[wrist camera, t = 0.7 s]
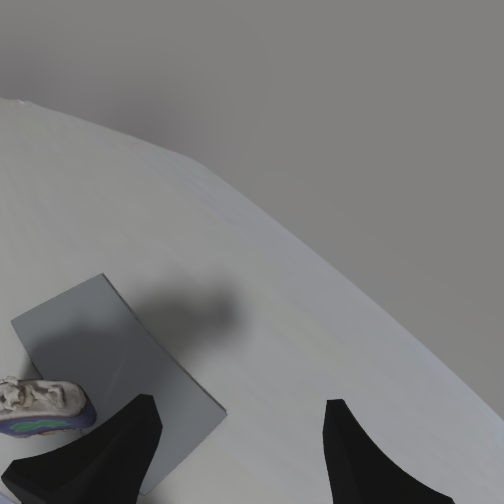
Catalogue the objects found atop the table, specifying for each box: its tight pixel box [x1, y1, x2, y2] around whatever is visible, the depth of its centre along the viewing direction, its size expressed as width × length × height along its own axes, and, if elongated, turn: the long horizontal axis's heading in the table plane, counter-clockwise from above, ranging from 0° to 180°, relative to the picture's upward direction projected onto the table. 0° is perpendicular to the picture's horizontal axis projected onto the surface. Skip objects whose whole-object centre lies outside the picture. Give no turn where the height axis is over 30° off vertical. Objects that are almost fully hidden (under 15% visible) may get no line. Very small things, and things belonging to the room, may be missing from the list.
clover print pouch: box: [0, 376, 98, 438], centre depth 14 cm, size 9×3×11 cm, turn 118°
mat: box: [11, 274, 228, 496], centre depth 24 cm, size 12×20×1 cm, turn 52°
